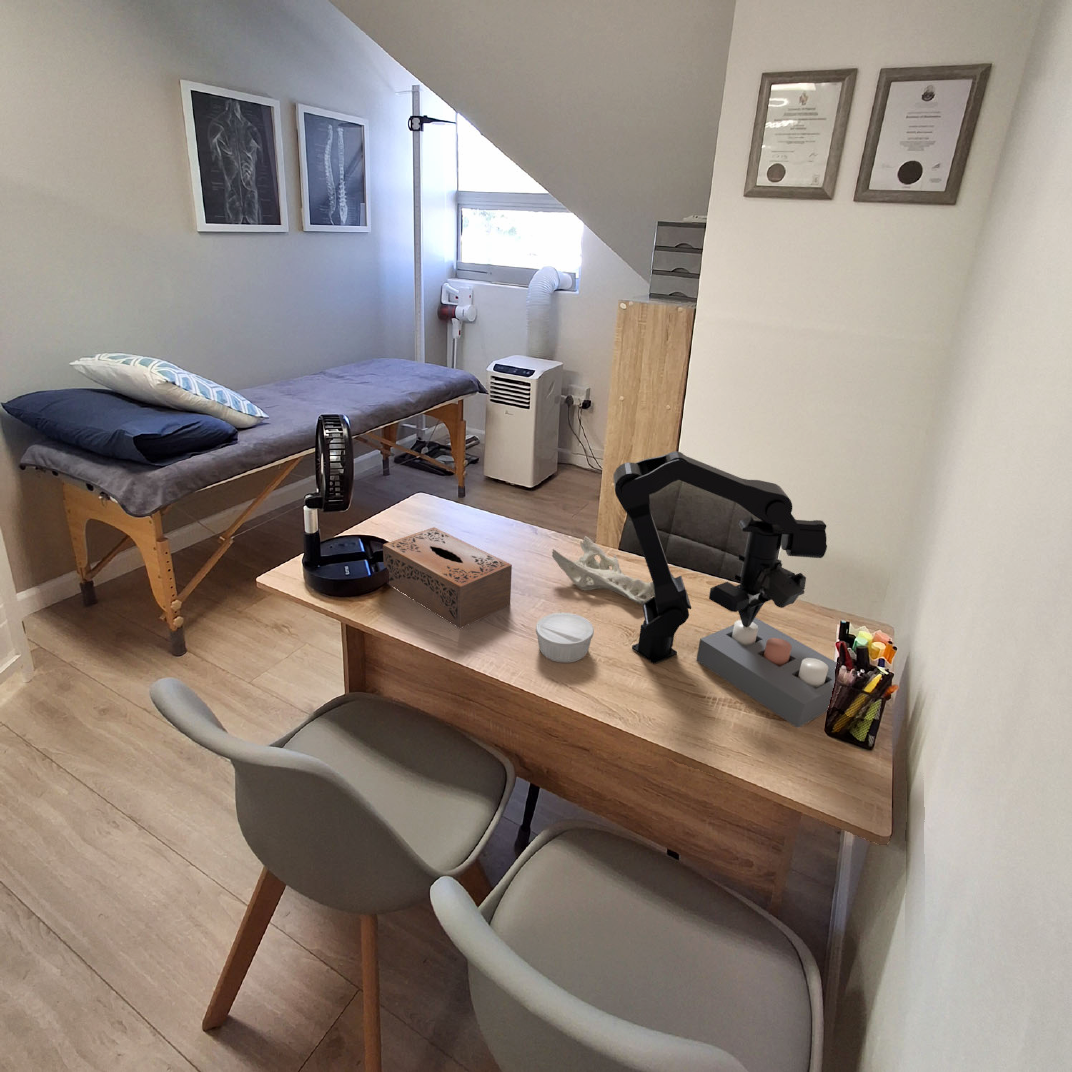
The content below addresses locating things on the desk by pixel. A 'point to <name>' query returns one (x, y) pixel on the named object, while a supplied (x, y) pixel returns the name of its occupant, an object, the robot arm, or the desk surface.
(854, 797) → the desk surface
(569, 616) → the ramekin
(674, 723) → the desk surface
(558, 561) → the skull
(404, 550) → the tissue box cover
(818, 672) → the knob
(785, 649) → the knob middle
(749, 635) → the knob
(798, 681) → the housing
